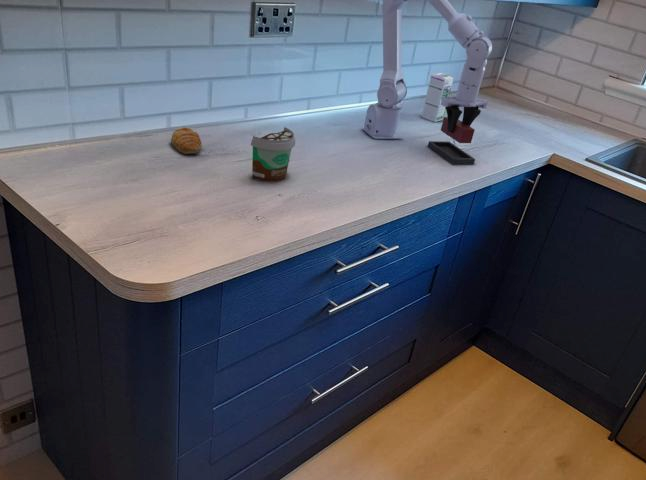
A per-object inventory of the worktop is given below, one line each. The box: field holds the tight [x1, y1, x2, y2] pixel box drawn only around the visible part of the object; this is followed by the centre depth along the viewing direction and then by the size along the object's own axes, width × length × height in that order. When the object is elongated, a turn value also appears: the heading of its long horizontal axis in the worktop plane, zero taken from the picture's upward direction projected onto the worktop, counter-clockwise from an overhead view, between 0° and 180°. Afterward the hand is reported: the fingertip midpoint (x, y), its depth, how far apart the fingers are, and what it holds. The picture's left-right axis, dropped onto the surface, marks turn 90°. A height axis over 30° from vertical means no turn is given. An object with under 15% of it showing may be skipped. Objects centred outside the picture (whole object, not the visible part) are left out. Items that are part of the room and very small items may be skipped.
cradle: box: [427, 140, 476, 166], centre depth 174 cm, size 8×14×2 cm, turn 26°
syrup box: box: [421, 72, 454, 123], centre depth 199 cm, size 6×6×14 cm
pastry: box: [170, 126, 202, 155], centre depth 142 cm, size 9×7×4 cm
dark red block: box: [440, 116, 476, 144], centre depth 170 cm, size 4×10×4 cm, turn 26°
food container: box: [250, 126, 296, 183], centre depth 135 cm, size 12×6×10 cm, turn 148°
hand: (456, 132), depth 170 cm, fingers closed on dark red block, 4 cm apart
